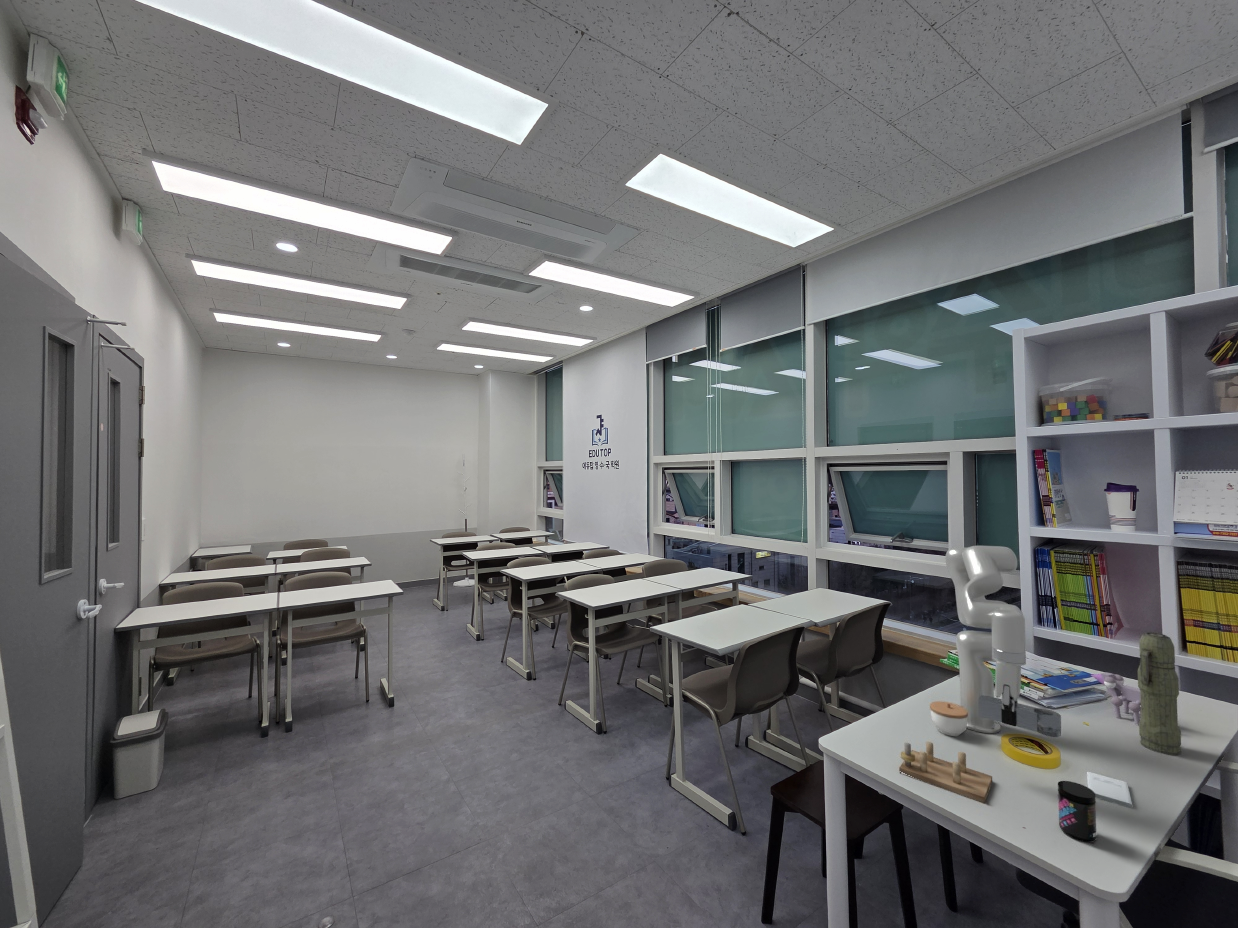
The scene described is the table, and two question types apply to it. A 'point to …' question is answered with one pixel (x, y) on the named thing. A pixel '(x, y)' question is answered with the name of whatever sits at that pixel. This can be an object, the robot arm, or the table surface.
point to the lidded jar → (949, 717)
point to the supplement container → (1077, 811)
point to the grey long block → (1023, 716)
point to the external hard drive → (1109, 789)
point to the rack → (945, 773)
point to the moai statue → (1158, 694)
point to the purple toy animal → (1121, 694)
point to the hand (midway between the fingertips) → (1010, 720)
